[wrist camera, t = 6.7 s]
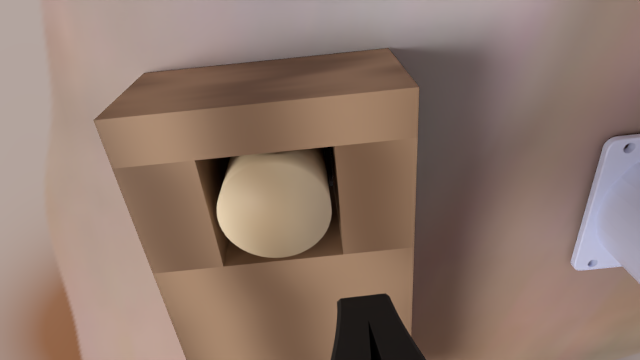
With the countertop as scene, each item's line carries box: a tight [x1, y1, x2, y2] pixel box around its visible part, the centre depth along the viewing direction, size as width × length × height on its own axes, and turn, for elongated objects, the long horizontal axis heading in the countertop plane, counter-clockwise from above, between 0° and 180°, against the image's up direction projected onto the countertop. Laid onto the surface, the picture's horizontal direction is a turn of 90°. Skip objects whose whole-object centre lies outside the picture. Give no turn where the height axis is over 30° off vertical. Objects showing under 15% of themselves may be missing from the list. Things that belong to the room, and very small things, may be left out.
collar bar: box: [94, 48, 419, 360], centre depth 20 cm, size 10×20×5 cm, turn 5°
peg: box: [217, 147, 332, 258], centre depth 17 cm, size 4×4×5 cm
